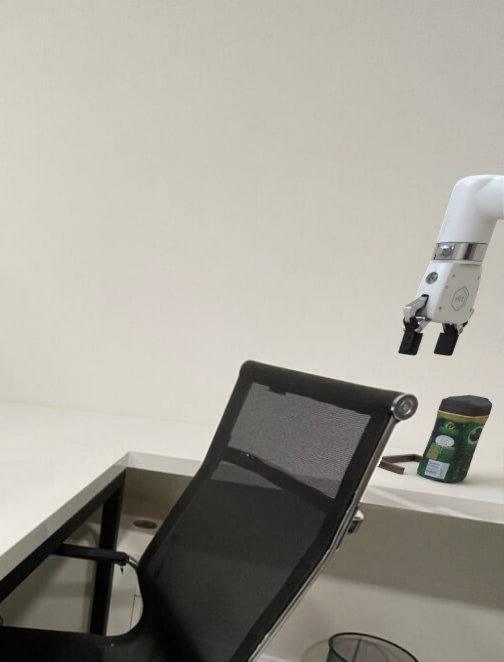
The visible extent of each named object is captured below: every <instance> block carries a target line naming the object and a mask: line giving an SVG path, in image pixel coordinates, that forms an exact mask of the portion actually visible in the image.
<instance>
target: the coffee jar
mask: <svg viewBox="0 0 504 662" xmlns="http://www.w3.org/2000/svg"><path fill="white" fill-rule="evenodd" d="M492 408H493V403H492V402H491V401H490V399H489V398H488V397H485V396H479V395H475V394H474V395H473V394H464V395H452V396H451V395H450V396H448V397H445V398H444V397H443V398H442V399H441V401H440V404H439V406H438V409H437V411H436V418H435V422H434V425H433V428H432V430H431V433H430V436H429V438H428V441H427V443H426V446H425V449H424V451H423V453H422V455H421V456H422V458H421V460H420V462H418V466H417V468H416V473H417V474H418V475H421V477H424V478H425V479H429V480H432V481H442V482H444V483H445V482H446V483H454V482H459V481H462V480H464V479H466V478H467V476H468V473H469V470H470V468H471V465H472V464H471V463H472V462H473V458H474V456H475V455H474V454H475V453H476V450H477V447H478V443H479V441H480V438H481V436H482V432H483V430H484V428H485V425H486V423H487V421H488V419H489V418H490V415H491V412H492Z"/></svg>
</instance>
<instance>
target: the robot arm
mask: <svg viewBox="0 0 504 662" xmlns="http://www.w3.org/2000/svg"><path fill="white" fill-rule="evenodd" d="M499 220H501V221H502V220H503V221H504V174H491V173H490V174H475V175H474V174H473V175H469V176H466V177H465V176H464V177H463V178H461V179H459V180H458V181H457V182H456V183H455V185H454V186H453V189H452V192H451V194H450V197H449V200H448V203H447V207H446V210H445V213H444V216H443V219H442V223H441V225H440V228H439V232H438V235H437V238H436V241H435V242H436V243H435V246H434V248H433V251H432V255H431V258H430V260H429V263H428V266H427V268H426V270H425V272H424V274H423V276H422V278H421V280H420V284H419V286H418V288H417V291H416V294H415V296H414V299H413V301H411V302H409V303H408V304H406V305H405V306H404V307H403V318H402V323H403V328H402V331H403V336H402V338H401V341H400V345H399V348H398V351H397V353H398V354H400V355H404V356H405V355H406V356H412V357H413V356H416V355H417V354H418V352H419V349H420V346H421V343H422V340H423V337H424V332H423V330H424V329H425V328H426V327H427V326H428V325H429V323H430V322H432V323H436V324H441V326H442V330H443V332H441V331H440V332H439V335H438V337H437V340H436V344H435V346H434V349H433V354H434V355H439V356H447V357H451V356H453V355H454V351H455V350H456V349H455V348H456V346H457V343H458V341H459V337H460V335H461V334H463V331H464V328H465V327H467V325H468V324H469V321H470V319H471V318H472V316H473V315H474V313H475V309H474V306H475V302H476V299H477V295H478V291H479V287H480V285H481V284H480V283H481V280H482V279H481V278H482V273H483V262H484V259H485V256H486V254H487V251H488V248H489V245H490V242H491V239H492V237H493V233H494V231H495V229H496V226H497V222H498V221H499Z"/></svg>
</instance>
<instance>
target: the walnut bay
mask: <svg viewBox="0 0 504 662" xmlns="http://www.w3.org/2000/svg"><path fill="white" fill-rule="evenodd" d="M382 456H383V455H382ZM421 458H422V455H421V454H417V453H407V454H393V455H384V456H383V457H382V460H381V462H380V464H379V466H378V468H381V469H383V470H386V471H389V472H393V473H396V474H398V475H403V474H404V473H405V469H406V467H403V466H400V465H399V464H394V463H404V462H417V463H420V460H421Z"/></svg>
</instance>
